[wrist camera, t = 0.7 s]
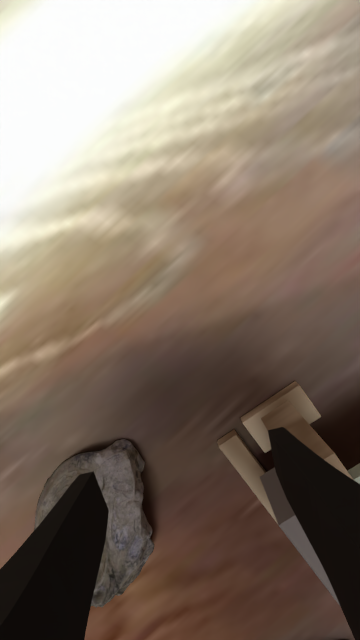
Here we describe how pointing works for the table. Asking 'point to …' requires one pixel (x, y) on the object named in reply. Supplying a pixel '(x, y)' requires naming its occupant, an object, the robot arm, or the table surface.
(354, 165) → the table surface
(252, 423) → the frame
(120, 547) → the grey rock
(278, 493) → the trapdoor
